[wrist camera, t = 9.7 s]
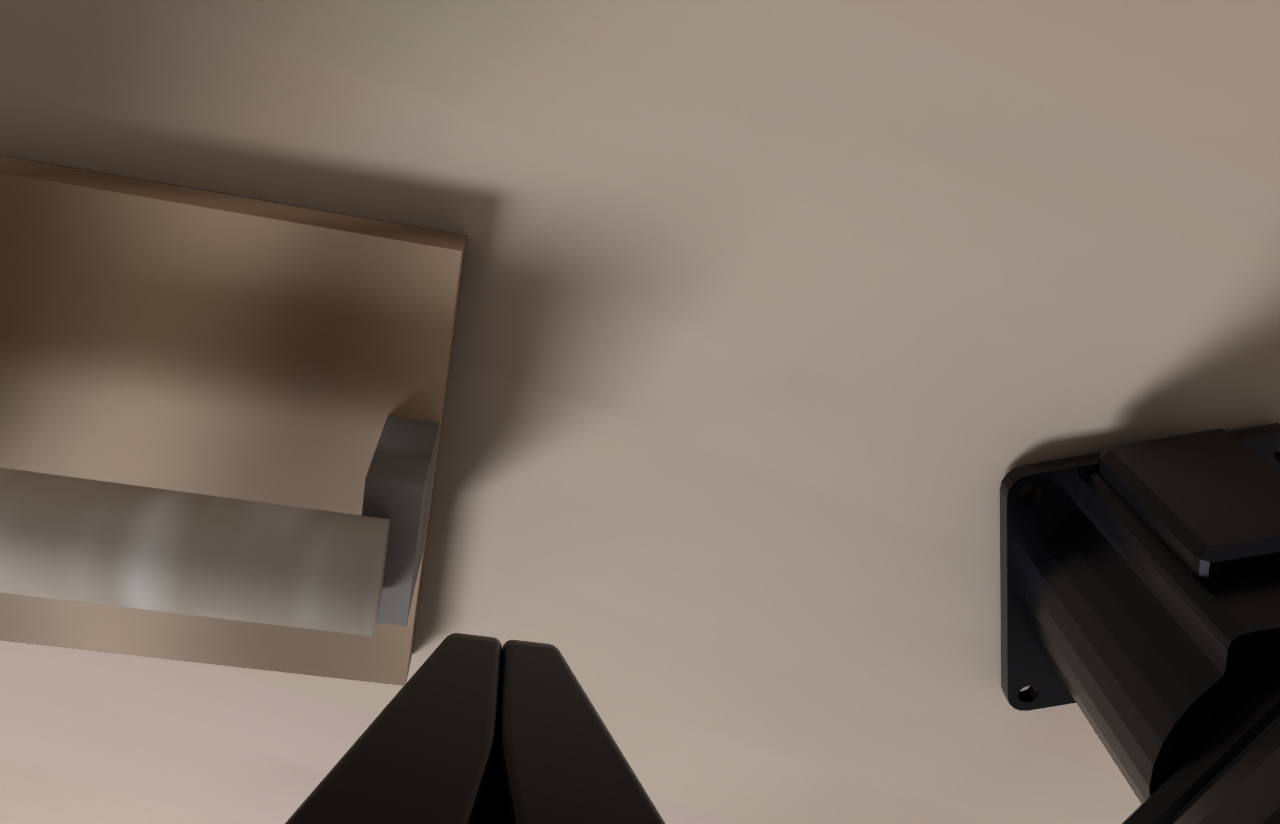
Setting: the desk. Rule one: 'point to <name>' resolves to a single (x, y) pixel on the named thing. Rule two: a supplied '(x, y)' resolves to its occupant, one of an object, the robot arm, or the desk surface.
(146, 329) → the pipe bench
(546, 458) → the desk surface
